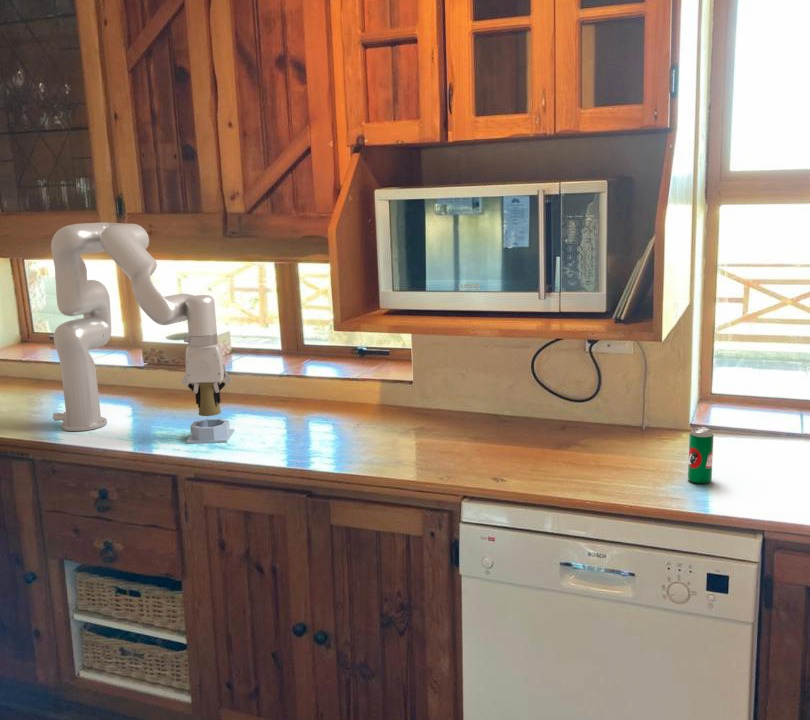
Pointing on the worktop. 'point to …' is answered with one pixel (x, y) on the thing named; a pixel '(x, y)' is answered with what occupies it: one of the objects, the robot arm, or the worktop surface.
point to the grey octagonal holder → (210, 431)
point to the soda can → (700, 455)
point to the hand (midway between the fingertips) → (208, 405)
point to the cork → (208, 400)
